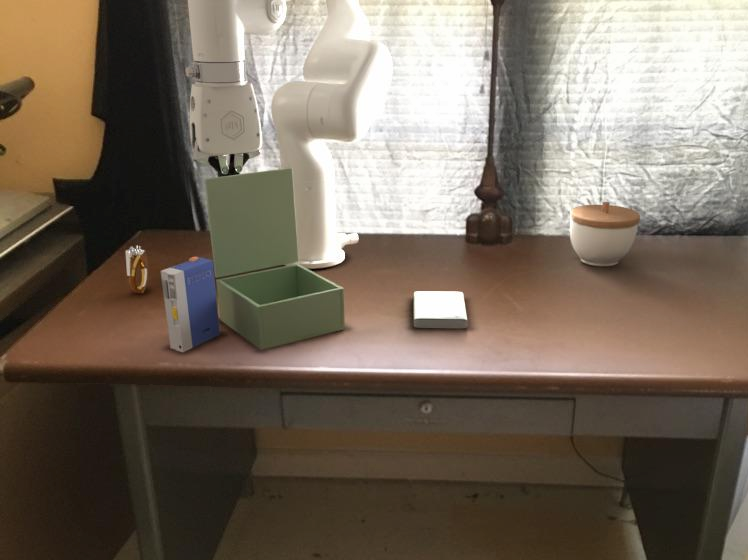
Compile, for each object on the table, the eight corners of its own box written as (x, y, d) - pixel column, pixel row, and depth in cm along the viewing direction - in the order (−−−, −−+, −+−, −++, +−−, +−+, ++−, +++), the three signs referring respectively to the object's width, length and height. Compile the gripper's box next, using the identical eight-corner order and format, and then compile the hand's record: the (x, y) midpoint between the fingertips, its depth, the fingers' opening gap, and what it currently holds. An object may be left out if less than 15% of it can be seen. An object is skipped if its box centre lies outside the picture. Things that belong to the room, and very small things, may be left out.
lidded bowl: (642, 257, 162) (650, 200, 157) (620, 275, 152) (628, 214, 147) (580, 246, 168) (586, 191, 163) (555, 263, 158) (560, 204, 153)
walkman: (206, 331, 128) (198, 254, 123) (220, 334, 127) (212, 257, 121) (168, 348, 122) (158, 268, 117) (182, 352, 121) (172, 272, 115)
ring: (141, 300, 140) (135, 253, 136) (123, 299, 140) (116, 252, 136) (158, 286, 146) (152, 241, 142) (140, 285, 146) (134, 240, 142)
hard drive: (467, 319, 129) (463, 290, 140) (413, 318, 129) (413, 290, 140) (467, 329, 130) (462, 300, 141) (413, 328, 130) (413, 299, 141)
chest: (344, 329, 129) (343, 288, 126) (261, 350, 122) (257, 307, 119) (299, 302, 139) (297, 263, 136) (219, 319, 132) (216, 279, 129)
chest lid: (292, 168, 130) (290, 167, 130) (205, 179, 122) (203, 178, 123) (298, 261, 136) (296, 261, 136) (216, 277, 129) (215, 277, 129)
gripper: (182, 79, 119) (195, 208, 127) (277, 73, 127) (283, 196, 135) (162, 74, 124) (176, 198, 133) (254, 69, 132) (262, 187, 140)
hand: (230, 197), depth 134 cm, fingers closed
